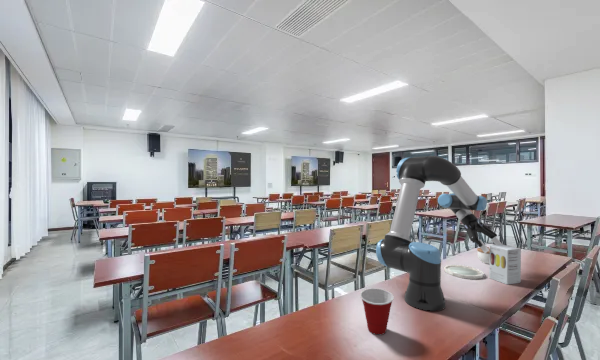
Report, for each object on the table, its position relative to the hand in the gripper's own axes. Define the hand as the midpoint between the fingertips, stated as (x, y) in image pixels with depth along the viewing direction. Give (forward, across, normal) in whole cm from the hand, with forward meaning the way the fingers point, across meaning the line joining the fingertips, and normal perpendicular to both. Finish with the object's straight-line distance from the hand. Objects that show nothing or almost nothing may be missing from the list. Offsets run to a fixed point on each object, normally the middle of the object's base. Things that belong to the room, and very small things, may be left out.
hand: (495, 250), depth 142 cm
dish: (+2, +9, -17) cm, 20 cm away
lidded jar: (-1, -22, -21) cm, 31 cm away
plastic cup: (+18, +90, -1) cm, 92 cm away
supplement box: (+13, +1, -6) cm, 15 cm away
